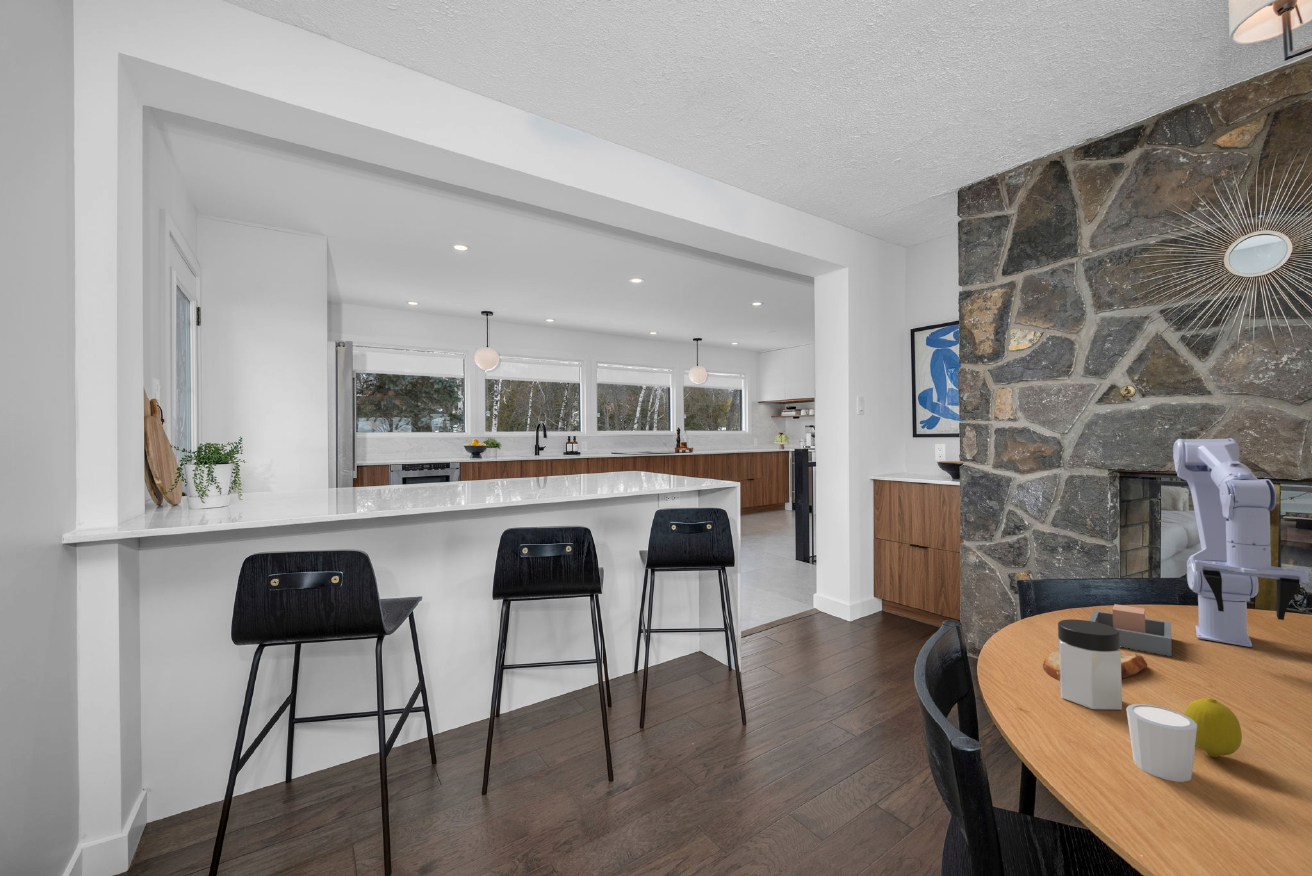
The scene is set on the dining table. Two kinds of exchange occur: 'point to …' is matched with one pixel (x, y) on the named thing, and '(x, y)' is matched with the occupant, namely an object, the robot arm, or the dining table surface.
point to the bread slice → (1128, 665)
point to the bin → (1141, 634)
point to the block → (1129, 618)
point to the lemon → (1215, 727)
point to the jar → (1090, 664)
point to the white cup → (1162, 741)
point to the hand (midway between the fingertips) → (1249, 614)
